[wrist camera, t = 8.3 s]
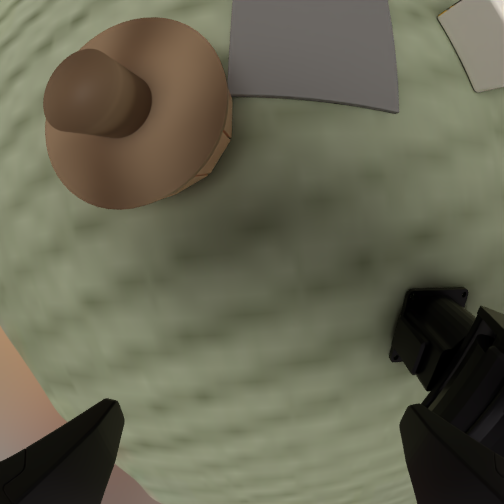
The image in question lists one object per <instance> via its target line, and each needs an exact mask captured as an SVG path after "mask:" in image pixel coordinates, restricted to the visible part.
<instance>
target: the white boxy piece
mask: <svg viewBox="0 0 504 504" xmlns="http://www.w3.org/2000/svg"><path fill="white" fill-rule="evenodd" d="M438 20H439V22H440V23H441V25H442V27H443V28H444V30H445V32H446V33H447V35H448V37H449V39H450V41H451V42H452V44H453V46H454V48H455V50H456V52H457V54H458V56H459V58H460V60H461V62H462V64H463V66H464V68H465V70H466V72H467V74H468V77H469V79H470V81H471V84H472V86H473V88H474V90H475V91H476V92H483V91H487V90H492V89H496V88H501V87H504V0H460V1H458V2H457V3H455V4H454V5H452V6H451V7H450V8H448V9H447V10H445V11H444V12H442V13H441V14H440V15H438Z"/></svg>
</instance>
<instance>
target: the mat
mask: <svg viewBox="0 0 504 504" xmlns="http://www.w3.org/2000/svg"><path fill="white" fill-rule="evenodd" d="M228 89H229V92H230V95H231V97H266V98H285V99H299V100H310V101H320V102H328V103H336V104H344V105H350V106H357V107H363V108H369V109H374V110H379V111H385V112H389V113H394V114H396V113H399V95H398V78H397V65H396V54H395V45H394V37H393V30H392V23H391V17H390V11H389V5H388V0H233V3H232V17H231V32H230V48H229V66H228Z"/></svg>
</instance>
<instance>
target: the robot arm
mask: <svg viewBox="0 0 504 504" xmlns="http://www.w3.org/2000/svg"><path fill="white" fill-rule="evenodd" d="M412 294H414V295H413V297H411V295H412ZM462 294H463V295H462ZM467 296H468V290H467V289H466V288H464V287H456V288H418V289H410V290H408V291H407V292H406V295H405V299H404V304H403V308H402V312H401V316H400V317H399V320H398V323H397V327H396V331H395V334H394V338H393V341H392V348H391V351H390V354H389V358H390V360H391V362H402V361H403V362H404V364H405V365H406V367H407V368H408V370H409V371H410V373H411V374H412V375H416V376H417V377H418V379H419V380H420V382H421V383H422V385H423V386H424V388H425V390H426V391H430V393H429V394H428V395H427V397H426V398H425V399H424V401H423V402H422V403H421V404H413V405H410V406H408V407H407V409H406V411H405V413H404V415H403V417H402V419H401V421H400V433H401V438H402V443H403V448H404V454H405V459H406V464H407V468H408V471H409V475H410V478H411V482H412V485H413V489H414V493H415V496H416V500H417V504H504V314H501V313H499V312H496V311H494V310H491V309H489V308H486V307H483V306H480V308H479V310H478V312H477V314H478V315H477V317H475V316H473V315H472V314H471V313H470V312H469V311H467V310H466V309H465V308H464V307H465V303H466V300H467ZM410 297H411V298H410ZM394 356H395V357H394ZM123 427H124V416H123V413H122V410H121V408H120V405H119V403H118V401H116V400H113V399H108V398H105V399H103V400H102V401H100V402H99V403H97V404H95V405H94V406H92V407H91V408H89V409H88V410H86V411H85V412H83V413H82V414H80V415H78V416H77V417H75V418H74V419H72V420H71V421H69V422H67V423H66V424H64V425H63V426H61V427H59V428H58V429H56V430H55V431H53V432H51V433H50V434H48V435H46V436H45V437H43V438H42V439H40V440H38V441H37V442H35V443H33V444H32V445H30V446H28V447H27V448H26V449H23V450H21V451H20V452H18V453H16V454H14V455H13V456H11V457H9V458H7V459H5V460H3V461H0V504H101V501H102V498H103V495H104V492H105V489H106V486H107V483H108V481H109V478H110V475H111V472H112V469H113V467H114V464H115V460H116V456H117V452H118V448H119V443H120V439H121V435H122V431H123Z"/></svg>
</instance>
